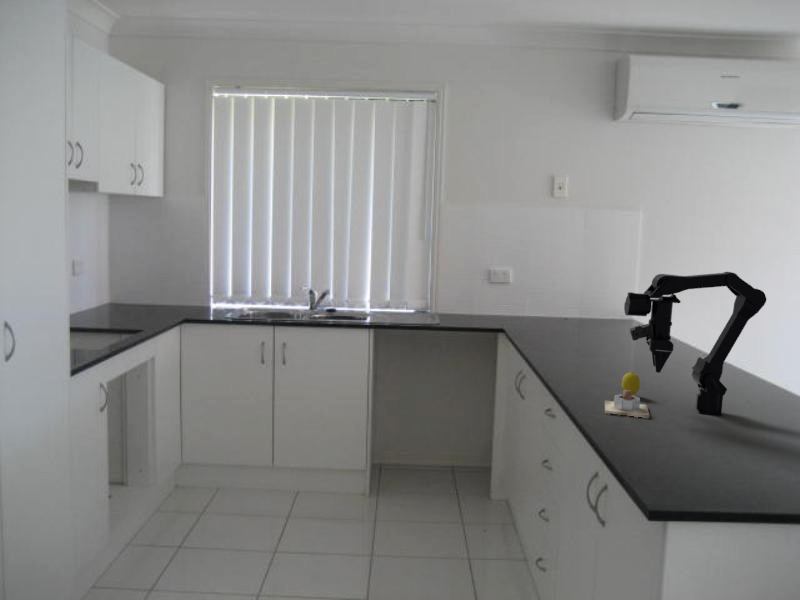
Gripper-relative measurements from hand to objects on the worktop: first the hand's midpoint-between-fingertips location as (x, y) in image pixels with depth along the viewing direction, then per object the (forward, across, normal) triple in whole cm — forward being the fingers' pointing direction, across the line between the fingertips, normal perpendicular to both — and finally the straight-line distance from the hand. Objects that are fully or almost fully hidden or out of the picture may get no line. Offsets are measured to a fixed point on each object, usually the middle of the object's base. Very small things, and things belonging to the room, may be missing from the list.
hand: (656, 369), depth 214 cm
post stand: (+12, +6, -8) cm, 16 cm away
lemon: (+12, -13, -6) cm, 19 cm away
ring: (+11, +6, -8) cm, 15 cm away
